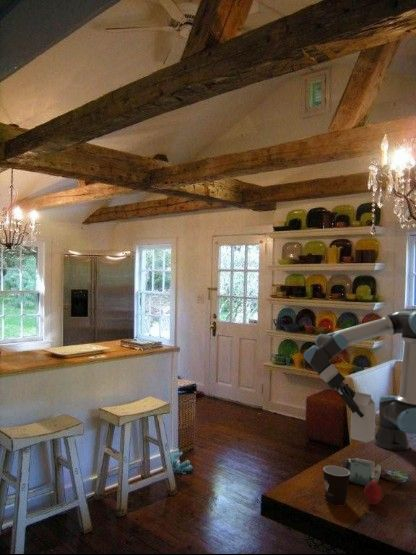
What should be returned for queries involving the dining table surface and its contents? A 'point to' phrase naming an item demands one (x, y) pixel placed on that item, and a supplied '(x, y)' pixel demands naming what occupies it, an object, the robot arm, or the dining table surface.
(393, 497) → the dining table surface
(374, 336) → the robot arm
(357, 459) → the motor
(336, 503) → the coffee mug
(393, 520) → the dining table surface
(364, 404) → the milk carton
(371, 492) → the onion
